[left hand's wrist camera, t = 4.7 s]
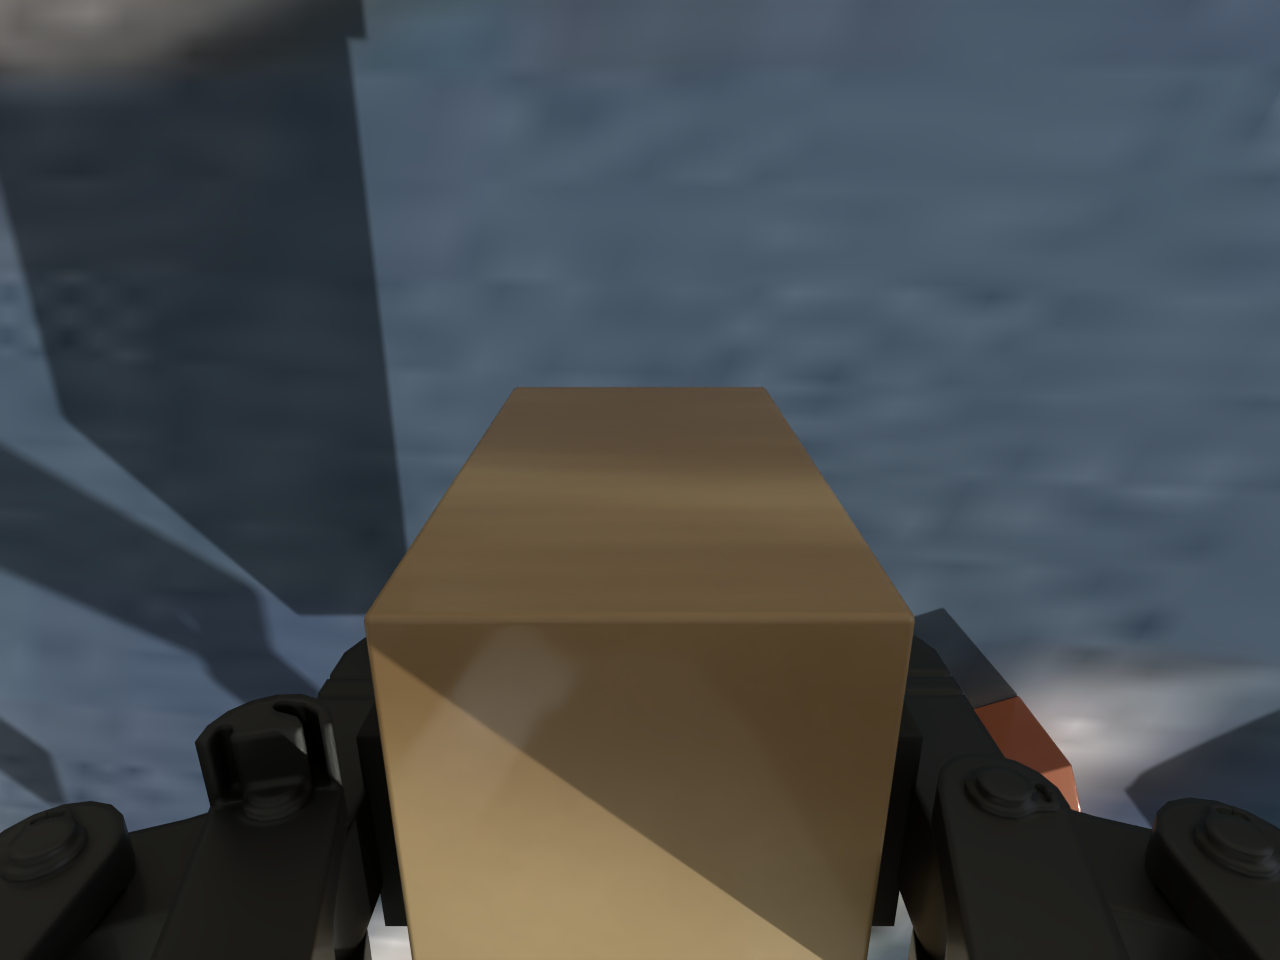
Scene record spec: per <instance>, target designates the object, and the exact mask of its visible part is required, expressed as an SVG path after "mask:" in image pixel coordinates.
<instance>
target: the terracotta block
mask: <svg viewBox="0 0 1280 960" xmlns="http://www.w3.org/2000/svg"><path fill="white" fill-rule="evenodd" d="M974 710H975V712H976V714H977V715H978V717H979V718H980V720H981V721H982V723H983V724H984V726H985V727H986V729H987V730H988V732H989V734H990V735H991V737H992V738H993V740H994V741H995V743H996V744H997V746H998V747H999V749H1000V750H1001V752H1002V753H1003V755H1004V757H1005V758H1008V759H1011V760H1015V761H1017V762H1019V763H1021V764H1023V765H1025V766H1027V767H1030V768H1032V769H1034V770H1036V771H1038V772H1039V773H1041V774H1042V775H1043V776H1044V777H1045V778H1047V779H1048V780H1049V781H1050V782H1052V783H1053V784H1054V785H1055V786H1057V787H1058V788H1059V790H1060V791H1061V793H1062V794H1063V796H1064V797H1065V799H1066V801H1067V802H1068V804H1069V805H1070V807H1071V809H1073V810H1076V811H1079V812H1081V809H1080V804H1079V799H1078V794H1077V789H1076V785H1075V780H1074V775H1073V770H1072V765H1071V764H1070V763H1069V761H1068V760H1067V759H1066V757H1065V756H1064V755H1063V753H1062V752H1061V751H1060V749H1059V748H1058V747H1057V746H1056V744H1055V743H1054V742H1053V740H1052V739H1051V738H1050V736H1049V735H1048V734H1047V732H1046V731H1045V730H1044V728H1043V727H1042V726H1041V725H1040V723H1039V722H1038V721H1037V719H1036V718H1035V717H1034V715H1033V714H1032V713H1031V711H1030V710H1029V709H1028V708H1027V706H1026V705H1025V704H1024V702H1023V701H1022V700H1021V698H1020V697H1019V696H1017V697H1014V698H1010V699H1007V700H1003V701H1000V702H996V703H993V704H989V705H986V706H983V707H979V708H976V709H974Z"/></svg>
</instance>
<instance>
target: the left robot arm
mask: <svg viewBox="0 0 1280 960" xmlns="http://www.w3.org/2000/svg"><path fill="white" fill-rule="evenodd" d="M195 745H196V749H197V753H198V757H199V761H200V766H201V770H202V774H203V778H204V782H205V786H206V790H207V794H208V798H209V802H210V809H209V811H208V813H205V814H202V815H198V816H195V817H192V818H188V819H185V820H181V821H176V822H172V823H168V824H163V825H159V826H155V827H150V828H146V829H142V830H137V831H133V832H129V833H128V830H127V827H126V824H125V820H124V817H123V815H122V814H121V813H120V812H119V811H118V810H117V809H116V808H115V807H114V806H112V805H111V804H105V803H99V802H94V801H87V802H79V803H71V804H64V805H61V806H58V807H55V808H52V809H49V810H45V811H43V812H40V813H37V814H34V815H32V816H30V817H28V818H26V819H24V820H23V821H21V822H19V823H17V824H15V825H13V826H11V827H9V828H7V829H6V830H4V831H3V832H1V833H0V960H372V957H371V950H370V942H369V936H368V930H367V927H368V924H369V922H370V919H371V916H372V914H373V911H374V908H375V906H376V903H377V900H378V897H379V895H380V894H381V900H382V907H383V913H384V920H385V926H407V920H406V913H405V906H404V899H403V892H402V885H401V878H400V871H399V864H398V857H397V849H396V842H395V835H394V828H393V821H392V814H391V807H390V800H389V793H388V786H387V779H386V772H385V765H384V758H383V751H382V744H381V737H380V730H379V723H378V716H377V709H376V702H375V695H374V688H373V681H372V674H371V667H370V660H369V653H368V646H367V639H366V637H365V638H364V639H363V640H361V641H360V642H358V643H357V644H356V645H354V646H353V647H352V648H350V649H349V650H348V651H346V652H345V653H344V654H343V656H342V657H341V659H340V661H339V662H338V664H337V665H336V667H335V668H334V670H333V671H332V673H331V674H330V679H327V681H326V682H325V684H324V685H323V687H322V688H321V690H320V691H319V693H318V698H313V697H309V696H306V695H302V694H290V695H274V696H270V697H266V698H261V699H257V700H253V701H250V702H248V703H246V704H243V705H241V706H239V707H236V708H234V709H232V710H229V711H227V712H226V713H225V714H223V715H222V716H220V717H219V718H218V719H216V720H215V721H213V722H212V723H211V724H209V725H208V726H207V727H206V728H205V729H204V731H203V732H202V733H201V735H200V736H199V737H198V739H197V740H196V741H195ZM899 890H900V892H901V895H902V898H903V901H904V903H905V906H906V909H907V911H908V914H909V917H910V919H911V922H912V925H913V930H912V936H911V942H910V948H909V954H908V960H1280V829H1278V828H1277V827H1276V826H1274V825H1272V824H1270V823H1268V822H1266V821H1264V820H1263V819H1261V818H1259V817H1257V816H1255V815H1253V814H1251V813H1249V812H1247V811H1245V810H1242V809H1239V808H1236V807H1234V806H1230V805H1227V804H1224V803H1221V802H1218V801H1213V800H1204V799H1196V798H1184V799H1179V800H1173V801H1169V802H1167V803H1166V804H1165V805H1164V806H1163V807H1162V808H1161V809H1160V810H1159V811H1158V812H1157V815H1156V818H1155V821H1154V825H1153V828H1152V829H1148V828H1144V827H1139V826H1135V825H1131V824H1126V823H1122V822H1117V821H1113V820H1109V819H1104V818H1100V817H1096V816H1092V815H1089V814H1086V813H1082V812H1079V811H1076V810H1073V809H1071V807H1070V805H1069V804H1068V802H1067V801H1066V799H1065V797H1064V796H1063V794H1062V793H1061V791H1060V790H1059V788H1058V787H1057V786H1055V785H1054V784H1053V783H1052V782H1050V781H1049V780H1048V779H1047V778H1045V777H1044V776H1043V775H1042V774H1041V773H1039V772H1038V771H1036V770H1034V769H1032V768H1030V767H1027V766H1025V765H1023V764H1021V763H1019V762H1017V761H1015V760H1011V759H1008V758H1005V757H1004V755H1003V753H1002V752H1001V750H1000V749H999V747H998V746H997V744H996V743H995V741H994V740H993V738H992V737H991V735H990V734H989V732H988V730H987V729H986V727H985V726H984V724H983V723H982V721H981V720H980V718H979V717H978V715H977V714H976V712H975V710H974V709H973V707H972V706H971V704H970V703H969V701H968V700H967V698H966V697H965V695H962V690H961V689H960V687H959V686H958V684H957V683H956V681H955V680H954V678H953V677H950V672H949V671H948V669H947V667H946V666H945V664H944V663H943V661H942V660H941V658H940V657H939V655H938V654H937V652H936V651H935V650H934V649H933V648H932V647H930V646H929V645H927V644H926V643H925V642H923V641H922V640H921V639H919V638H918V637H916V636H915V635H914V634H913V638H912V645H911V652H910V659H909V666H908V673H907V680H906V687H905V694H904V702H903V709H902V716H901V723H900V730H899V737H898V744H897V751H896V758H895V765H894V772H893V779H892V786H891V793H890V800H889V807H888V814H887V821H886V828H885V835H884V842H883V849H882V856H881V863H880V870H879V877H878V884H877V891H876V898H875V905H874V913H873V920H872V926H894V923H895V916H896V910H897V903H898V897H899Z"/></svg>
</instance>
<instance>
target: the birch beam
mask: <svg viewBox="0 0 1280 960" xmlns="http://www.w3.org/2000/svg"><path fill="white" fill-rule="evenodd" d="M914 624H915V619H914V616H913V613H912V612H911V610H910V609H909V607H908V606H907V604H906V603H905V601H904V600H903V598H902V597H901V595H900V594H899V592H898V590H897V589H896V587H895V586H894V584H893V583H892V581H891V580H890V578H889V577H888V575H887V574H886V572H885V571H884V569H883V568H882V566H881V565H880V563H879V561H878V560H877V558H876V557H875V555H874V554H873V552H872V551H871V549H870V548H869V546H868V545H867V543H866V542H865V540H864V539H863V537H862V535H861V534H860V532H859V531H858V529H857V528H856V526H855V525H854V523H853V522H852V520H851V519H850V517H849V516H848V514H847V513H846V511H845V509H844V508H843V506H842V505H841V503H840V502H839V500H838V499H837V497H836V496H835V494H834V493H833V491H832V490H831V488H830V487H829V485H828V483H827V482H826V480H825V479H824V477H823V476H822V474H821V473H820V471H819V470H818V468H817V467H816V465H815V464H814V462H813V461H812V459H811V458H810V456H809V454H808V453H807V451H806V450H805V448H804V447H803V445H802V444H801V442H800V441H799V439H798V438H797V436H796V435H795V433H794V432H793V430H792V428H791V427H790V425H789V424H788V422H787V421H786V419H785V418H784V416H783V415H782V413H781V412H780V410H779V409H778V407H777V406H776V404H775V402H774V401H773V399H772V398H771V396H770V395H769V393H768V392H767V390H766V389H765V388H763V387H517V388H514V390H513V391H512V393H511V394H510V396H509V397H508V399H507V401H506V402H505V404H504V405H503V407H502V408H501V410H500V411H499V413H498V414H497V416H496V417H495V419H494V420H493V422H492V423H491V425H490V426H489V428H488V429H487V431H486V432H485V434H484V435H483V437H482V438H481V440H480V441H479V443H478V445H477V446H476V448H475V449H474V451H473V452H472V454H471V455H470V457H469V458H468V460H467V461H466V463H465V464H464V466H463V467H462V469H461V470H460V472H459V473H458V475H457V476H456V478H455V479H454V481H453V482H452V484H451V486H450V487H449V489H448V490H447V492H446V493H445V495H444V496H443V498H442V499H441V501H440V502H439V504H438V505H437V507H436V508H435V510H434V511H433V513H432V514H431V516H430V517H429V519H428V520H427V522H426V523H425V525H424V527H423V528H422V530H421V531H420V533H419V534H418V536H417V537H416V539H415V540H414V542H413V543H412V545H411V546H410V548H409V549H408V551H407V552H406V554H405V555H404V557H403V558H402V560H401V561H400V563H399V564H398V566H397V568H396V569H395V571H394V572H393V574H392V575H391V577H390V578H389V580H388V581H387V583H386V584H385V586H384V587H383V589H382V590H381V592H380V593H379V595H378V596H377V598H376V599H375V601H374V602H373V604H372V605H371V607H370V609H369V610H368V612H367V613H366V615H365V618H364V625H365V632H366V639H367V646H368V653H369V660H370V667H371V674H372V681H373V688H374V695H375V702H376V709H377V716H378V723H379V730H380V737H381V744H382V751H383V758H384V765H385V772H386V779H387V786H388V793H389V800H390V807H391V814H392V821H393V828H394V835H395V842H396V849H397V857H398V864H399V871H400V878H401V885H402V892H403V899H404V906H405V913H406V920H407V927H408V934H409V941H410V948H411V955H412V960H867V955H868V948H869V941H870V934H871V927H872V920H873V913H874V905H875V898H876V891H877V884H878V877H879V870H880V863H881V856H882V849H883V842H884V835H885V828H886V821H887V814H888V807H889V800H890V793H891V786H892V779H893V772H894V765H895V758H896V751H897V744H898V737H899V730H900V723H901V716H902V709H903V702H904V694H905V687H906V680H907V673H908V666H909V659H910V652H911V645H912V638H913V631H914Z"/></svg>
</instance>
